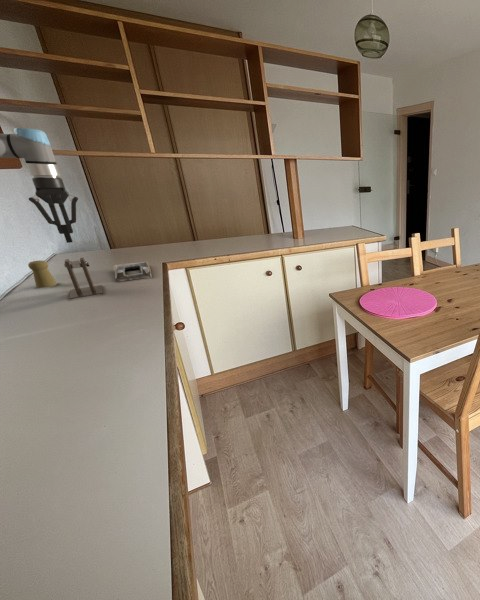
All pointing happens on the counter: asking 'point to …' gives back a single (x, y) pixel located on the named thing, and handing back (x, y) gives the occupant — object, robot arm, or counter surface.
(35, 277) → the cork
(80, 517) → the counter surface
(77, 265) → the tap lever
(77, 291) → the bracket
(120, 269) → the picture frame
